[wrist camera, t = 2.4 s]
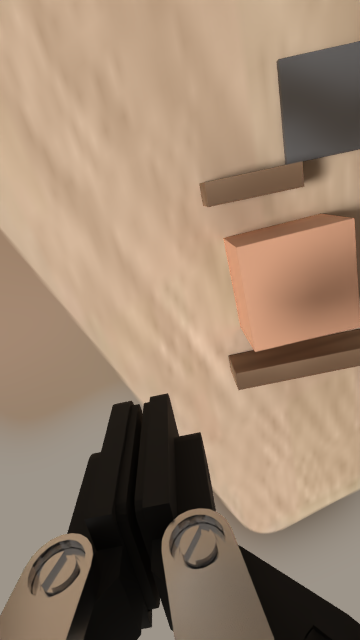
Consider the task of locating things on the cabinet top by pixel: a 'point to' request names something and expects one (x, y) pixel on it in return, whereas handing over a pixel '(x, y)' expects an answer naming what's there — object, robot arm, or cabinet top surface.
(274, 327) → the salmon block
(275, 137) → the cabinet top surface
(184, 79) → the cabinet top surface
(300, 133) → the trap lane
